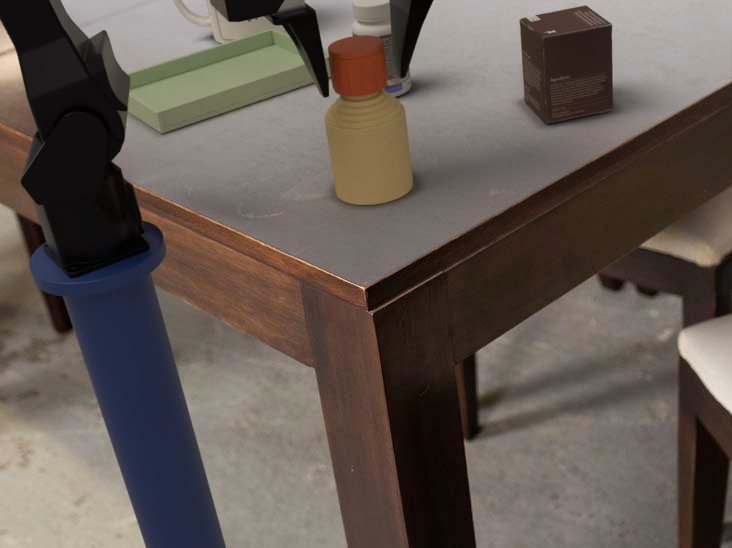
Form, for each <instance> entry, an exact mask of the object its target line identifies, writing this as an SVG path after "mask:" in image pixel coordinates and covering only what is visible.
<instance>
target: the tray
mask: <svg viewBox="0 0 732 548" xmlns="http://www.w3.org/2000/svg"><path fill="white" fill-rule="evenodd" d="M323 52H324V57H325V62H326V68H327V73H328V78H331V73H330V66H329V59H328V57H329V54H328V49H326V48H323ZM125 73H126V74H127V75H129V76H130V78H131V81H130V91H129V101H128V113H129V114H131V115H133V116H134V117H135V118H137V119H139V121H141V122H143V123H145V124H146V125H148V126H149V127H151V128H152V129H153V130H155V131H157V132H158V133H160V134H161V135H163V134H166V133H168V132H171V131H174V130H177V129H181V128H183V127H187V126H189V125H192V124H195V123H198V122H201V121H205V120H207V119H210V118H212V117H216V116H220V115H222V114H225V113H228V112H231V111H234V110H237V109H239V108H242V107H245V106H249V105H251V104H254V103H258V102H261V101H264V100H266V99H270V98H273V97H274V96H278V95H281V94H285V93H287V92H290V91H293V90H296V89H298V88H302V87H306V86H308V85H310V84H311V85H312V84H313V83H314V81H313V79H312V77H311V75H310V73H309V71H308V69H307V67H306V65H305V64H304V62H303V60H302V58H301V56H300V54H299V52H298V50H297V48H296V46H295V44H294V43H293V41H292V39H291V38H290V36H289V35H288V34H286V33H284V32H281V31H279V30H276V29H274V28H272V29H268V30H265V31H262V32H259V33H255V34H252V35H249V36H246V37H242V38H239V39H236V40H233V41H229V42H226V43H223V44H222V43H219V44H217V45H214V46H210V47H207V48H204V49H200V50H197V51H194V52H191V53H188V54H185V55H181V56H178V57H174V58H171V59H168V60H166V61H162V62H158V63H156V64H152V65H148V66H145V67H142V68H139V69H136V70H132V71H129V72H125ZM314 84H315V83H314Z"/></svg>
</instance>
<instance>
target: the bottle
mask: <svg viewBox="0 0 732 548" xmlns="http://www.w3.org/2000/svg"><path fill="white" fill-rule="evenodd" d="M407 124H408V123H407V116H406V107H405V106H404V105H403V104H402V102H401V100H400V99H398V97H394V96H392V95H391V94H389V93H388V92H386V91H384V90H383V89H382V90H380V91H378V92H375V93H372V94H368V95H363V96H343V95H339V96H338V97H337V98H336V100H335V101H334V102H333V103H332V104H331V106H330V107H329V108H328V109H327V110H326V114H325V116H324V126H325V133H326V138H327V144H328V151H329V157H330V163H331V170H332V177H333V184H334V189H335V195H336V196H337V198H338V199H339V200H340V201H342V202H344V203H347V204H350V205H356V206H375V205H381V204H386V203H390V202H393V201H396V200H398V199H400V198H402V197H404V196H405V195H407V194H409V192H411V190H412V189H413V187H414V186H413V185H414V176H413V168H412V159H411V151H410V150H411V149H410V141H409V134H408V125H407Z"/></svg>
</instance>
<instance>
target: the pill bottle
mask: <svg viewBox="0 0 732 548" xmlns="http://www.w3.org/2000/svg"><path fill="white" fill-rule="evenodd" d="M352 12H353V17H354V18H353V19H355V21H354V22H353V24H352V27H351V34H352V36H361V35H369V36H376V37H379V38H381V39H382V41H383V48H384V50H385V58H386V66H387V75H388V79H387V81H388V83H387V86H386V87H385V88H383V90H384V91H386V92H388V93H389V94H391V95H392V96H394V97H395V98H397V97H399V96H402V95H404V94H406V93H407V92H408V91H409V90H411V88H412V78H411V70H410V67H409V68H408V71H407V75H406V77H405V78H402V79H400V78H399V77H398V76H397V75H396V73H395V67H394V62H393V56H392V40H391V20H390V1H389V0H352Z"/></svg>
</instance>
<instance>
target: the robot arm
mask: <svg viewBox="0 0 732 548" xmlns="http://www.w3.org/2000/svg"><path fill="white" fill-rule="evenodd" d="M389 1H390V20H391V40H392V56H393V62H394V67H395V73H396V75H397V76H398V77H399V78H400V79H402V78H405V77H406V75H407V71H408V68H410V65H411V62H412V59H413V55H414V53H415V49H416V46H417V44H418V40H419V38H420V34H421V32H422V28H423V25H424V23H425V21H426V19H427V16H428V14H429V12H430V10H431V7H432V5H433V4H434V1H435V0H389ZM210 3H211V5H212V6H213V7H214V8H215V9H216V10H217V11H218V12H219V13H220V14H221V15H222V16H223V17H224V18H225V19H226V20H227V21H228V22H242V21H246V20H250V19H255V18H259V17H263V16H264V17H265V18H266V19H267V20H268V21H269V22H271V23H272V24H273V25H276V26H280V25H282V26H283V27H284V29H285V30H286V32H287V33H288V35H289V36H290V38H291V39H292V41H293V43H294V44H295V46H296V48H297V50H298V52H299V54H300V56H301V58H302V60H303V62H304V64H305V65H306V67H307V69H308V71H309V73H310V75H311V77H312V79H313V81H314V85H315V87H316V89H317V91H318V93H319V94H320V96H322V98H324V99H326V98H329V97H330V79H329V78H330V77H329V78H328V73H327V68H326V62H325V57H324V52H323V49H324V46H323V43H322V36H321V32H320V31H321V30H320V26H319V21H318V15H317V11H316V9H314V8H313V7H312V6H311V5H309V4H308V3H306V1H305V0H210ZM0 23H1V24H2V26H3V28H4V31H6V34H7V35H8V38H9V39H10V41H11V43H12V46H13V48H14V50H15V53H16V56H17V60H18V64H19V68H20V73H21V77H22V82H23V86H24V90H25V94H26V95H25V96H26V99H27V103H28V106H29V108H30V111H31V114H32V118H33V120H34V123H35V125H36V131H35V132H34V134H33V136H32V138H31V139H32V140H31V143H30V147H29V150H28V152H27V153H28V154H27V157H26V160H25V163H24V167H23V170H22V173H21V177H20V185H21V186H22V187H23V189H24V190H25V191H26V193H27V194H28V195H29V196H30V198H31V199H32V202H33V205H34V208H35V211H36V214H37V218H38V220H39V224H40V226H41V230H42V232H43V236H44V239H45V242H47V243H46V244H44V243H43V244H44V245H43V244H42V245H43V249H44V252H45V253H46V254H47V255H48V256H49V257H50V258H51V260H52V261H53V262H54V263H55V264H56V265H57V266H58V267H59V268H60V269H61V270H62V271H63V272H64V273H65V274H66V275H67V276H68V277H69V278H77V277H79V276H82V275H85V274H87V273H90V272H93V271H95V270H98V269H100V268H103V267H106V266H108V265H111V264H114V263H116V262H119V261H121V260H124V259H127V258H129V257H132V256H135V255H137V254H140V253H143V252H145V251H147V250H149V249H150V246H149V242H148V241H147V240H145V239H144V238H143V237H142V236H141V235H142V234H144V232H145V228H144V224H143V221H144V220H143V216H142V213H141V210H140V205H139V203H138V202H139V201H138V198H137V195H136V191H135V187H134V185H133V184H132V183H131V182H130V181H128V180H127V179H126V178H125V177H124V174H123V170H122V168H121V167H120V166H119V165H118V164H116V163H115V162H114V159H115V158H116V157H117V156H118V155H119V154H120V152H121V151H122V148H123V145H124V143H125V141H126V132H127V123H128V122H127V121H128V113H129V112H128V101H129V91H130V81H131V78H130V76H129V75H127V74H126V73H127V72H126V71H125V70H123V68H122V67H121V65H120V63H119V62H118V61H117V58H116V56H115V53H114V50H113V46H112V42H111V40H110V36H109V34H108V31H107V30H105V29H102V30H101V31H99V32H97V33H96V34H94V35H92V36H91V37H90V38H89V36H87V35H86V33H85V32H84V31H83V30H82V29H81V28H80V27H79V26H78V25H77V24H76V22H74V21H73V19H72V18H71V17H70V15H69V14H68V12H67V9H66V8H65V5H64V4H63V2H62V0H0Z"/></svg>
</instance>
